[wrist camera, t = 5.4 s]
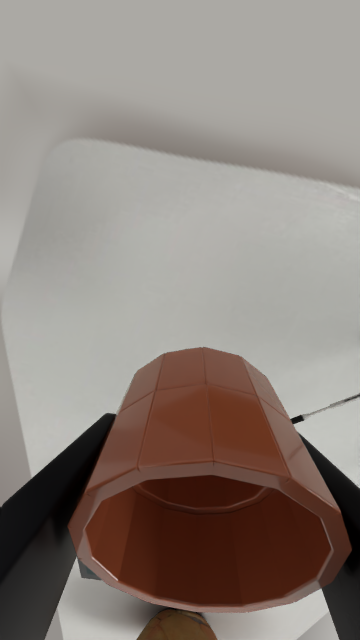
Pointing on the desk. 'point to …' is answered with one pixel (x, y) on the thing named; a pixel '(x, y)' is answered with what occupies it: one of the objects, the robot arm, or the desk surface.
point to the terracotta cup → (207, 493)
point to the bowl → (177, 627)
